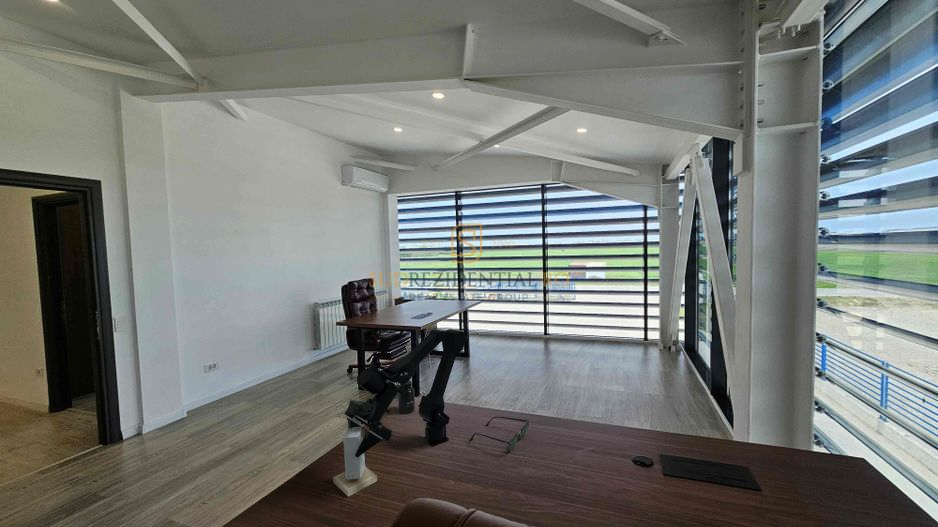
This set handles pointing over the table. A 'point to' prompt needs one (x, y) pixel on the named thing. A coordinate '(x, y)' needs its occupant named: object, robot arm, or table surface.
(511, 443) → the sunglasses
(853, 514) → the table surface
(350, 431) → the skincare box
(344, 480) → the plinth
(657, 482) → the table surface
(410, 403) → the supplement bottle
